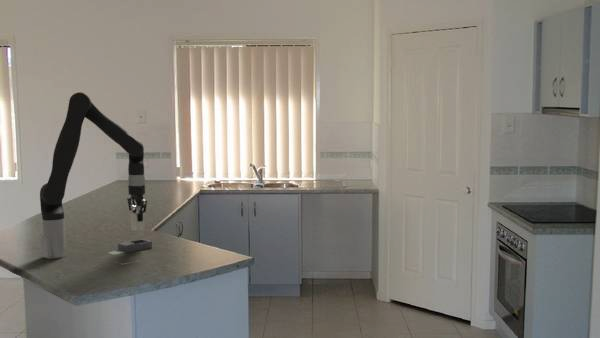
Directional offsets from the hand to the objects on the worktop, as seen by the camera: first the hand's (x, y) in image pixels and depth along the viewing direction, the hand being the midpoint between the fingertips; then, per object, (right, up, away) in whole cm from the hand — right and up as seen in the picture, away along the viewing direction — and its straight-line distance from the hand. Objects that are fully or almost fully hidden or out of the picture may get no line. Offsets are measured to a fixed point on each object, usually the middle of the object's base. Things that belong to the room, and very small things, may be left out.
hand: (137, 220), depth 303 cm
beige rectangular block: (0, -4, 0) cm, 4 cm away
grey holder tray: (-1, -14, 0) cm, 14 cm away
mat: (-8, -15, -7) cm, 18 cm away
